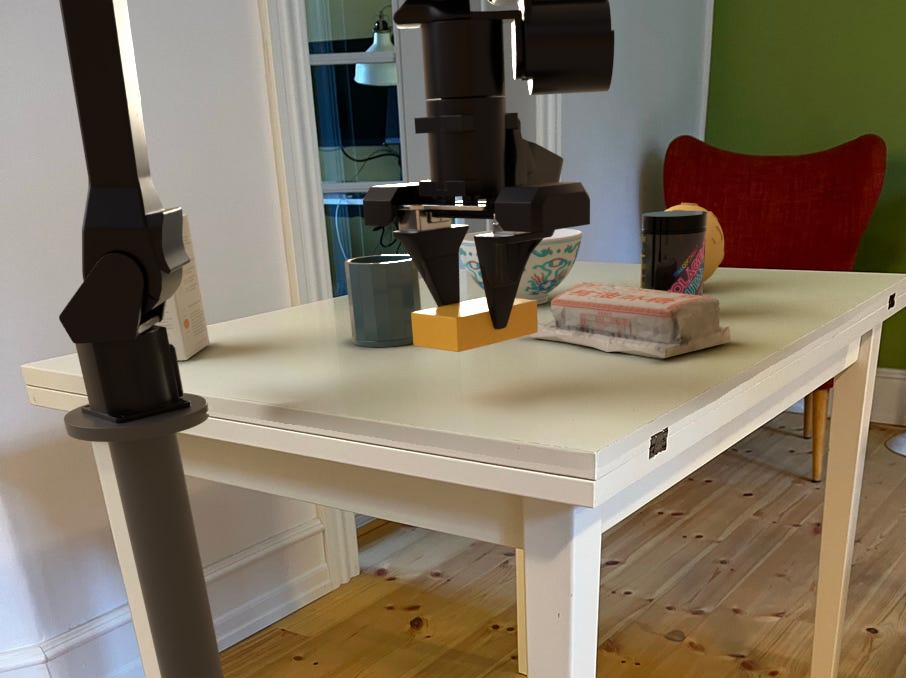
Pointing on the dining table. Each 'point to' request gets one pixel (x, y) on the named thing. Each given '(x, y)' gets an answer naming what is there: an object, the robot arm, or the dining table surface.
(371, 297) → the cup
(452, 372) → the dining table surface
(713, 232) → the stress ball
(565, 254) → the chinaware
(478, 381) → the dining table surface
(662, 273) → the supplement container
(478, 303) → the orange flat block
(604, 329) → the packaged product
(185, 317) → the small box
